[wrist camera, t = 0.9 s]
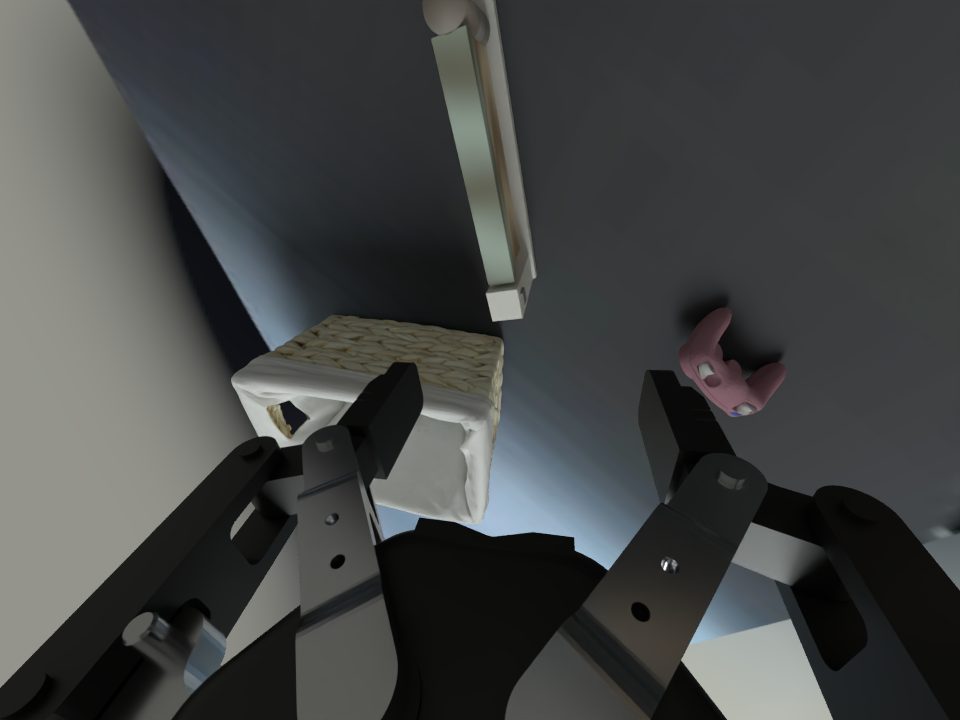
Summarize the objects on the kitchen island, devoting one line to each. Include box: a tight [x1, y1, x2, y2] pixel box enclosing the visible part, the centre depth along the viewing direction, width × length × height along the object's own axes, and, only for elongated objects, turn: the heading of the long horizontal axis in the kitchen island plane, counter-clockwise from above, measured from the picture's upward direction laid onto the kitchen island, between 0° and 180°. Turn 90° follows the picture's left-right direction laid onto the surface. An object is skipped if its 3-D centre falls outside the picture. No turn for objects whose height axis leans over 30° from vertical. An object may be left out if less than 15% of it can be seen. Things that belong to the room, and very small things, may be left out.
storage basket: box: [231, 315, 504, 524], centre depth 39 cm, size 24×16×15 cm
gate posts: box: [472, 0, 537, 321], centre depth 25 cm, size 22×3×9 cm, turn 13°
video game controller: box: [679, 308, 786, 417], centre depth 32 cm, size 10×5×7 cm, turn 52°
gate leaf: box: [423, 0, 520, 286], centre depth 25 cm, size 16×2×7 cm, turn 13°
